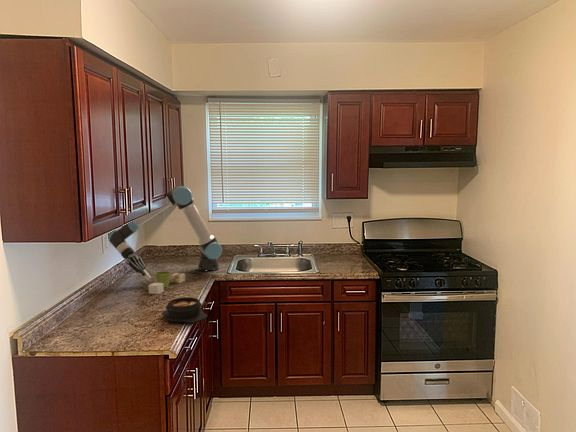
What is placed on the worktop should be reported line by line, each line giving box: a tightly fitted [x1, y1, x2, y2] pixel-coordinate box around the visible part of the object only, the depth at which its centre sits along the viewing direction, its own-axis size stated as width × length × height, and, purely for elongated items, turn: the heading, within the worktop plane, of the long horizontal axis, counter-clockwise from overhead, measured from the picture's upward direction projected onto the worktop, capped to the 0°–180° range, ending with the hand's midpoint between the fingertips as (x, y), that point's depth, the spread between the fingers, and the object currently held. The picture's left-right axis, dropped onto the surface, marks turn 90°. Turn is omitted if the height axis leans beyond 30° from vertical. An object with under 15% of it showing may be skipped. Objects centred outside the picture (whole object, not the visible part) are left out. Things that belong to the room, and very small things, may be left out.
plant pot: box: [154, 270, 171, 289], centre depth 271 cm, size 9×9×9 cm
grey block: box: [148, 282, 165, 295], centre depth 259 cm, size 6×6×5 cm
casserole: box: [161, 296, 208, 324], centre depth 214 cm, size 25×19×8 cm
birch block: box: [171, 272, 186, 284], centre depth 282 cm, size 6×6×5 cm
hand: (149, 278), depth 273 cm, fingers closed
